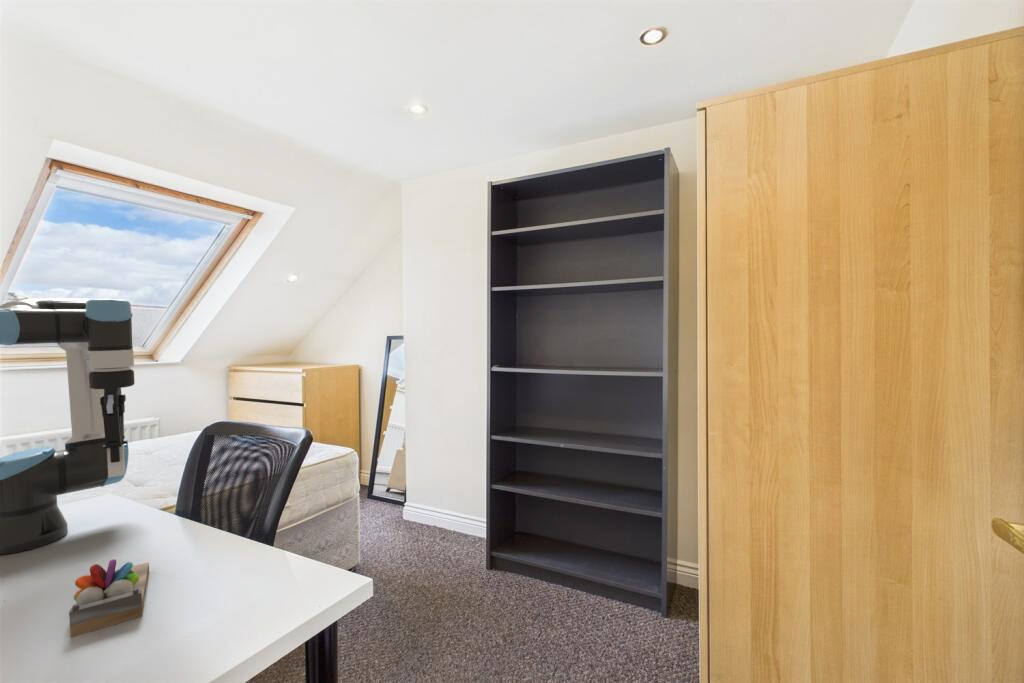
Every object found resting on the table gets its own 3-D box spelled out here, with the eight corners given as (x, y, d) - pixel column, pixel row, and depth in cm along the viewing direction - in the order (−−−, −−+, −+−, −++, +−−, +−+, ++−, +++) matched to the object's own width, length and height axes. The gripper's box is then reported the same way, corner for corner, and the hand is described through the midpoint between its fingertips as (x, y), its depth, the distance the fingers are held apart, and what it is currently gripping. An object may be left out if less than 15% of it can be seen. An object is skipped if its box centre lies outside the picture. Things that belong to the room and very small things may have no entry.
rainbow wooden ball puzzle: (79, 595, 92) (77, 559, 91) (141, 579, 97) (139, 546, 97) (69, 617, 85) (67, 579, 84) (137, 599, 90) (135, 562, 90)
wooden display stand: (89, 585, 99) (88, 562, 98) (149, 570, 104) (148, 548, 104) (70, 637, 82) (68, 608, 82) (142, 616, 88) (140, 589, 88)
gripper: (93, 368, 105) (98, 471, 105) (83, 373, 94) (88, 487, 95) (136, 366, 109) (140, 465, 110) (130, 370, 98) (135, 479, 99)
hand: (116, 475), depth 102 cm, fingers closed
